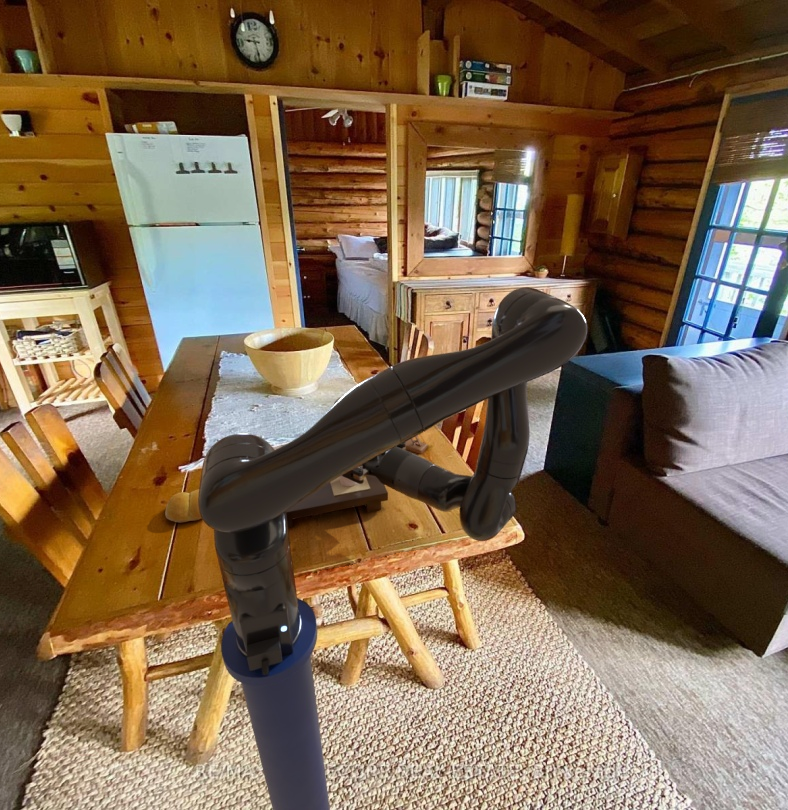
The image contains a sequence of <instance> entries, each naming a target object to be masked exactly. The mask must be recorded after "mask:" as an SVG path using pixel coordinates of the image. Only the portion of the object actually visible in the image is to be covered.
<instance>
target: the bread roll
mask: <svg viewBox="0 0 788 810" xmlns="http://www.w3.org/2000/svg"><path fill="white" fill-rule="evenodd" d="M198 495H199V489H195V490H192V491H191V492H186V491H182V492H177V493H175V494H174V495H172V496H171V497H170V499H169V500H168V502H167V504H166V507H165V513H164V514H165V518H166V519H167V520H168V521H171V522H175V523H186V522H190V521H191V522H192V521H193V522H195V521H199V520H203V519H202V518H201V515H200V512H199V505H198Z"/></svg>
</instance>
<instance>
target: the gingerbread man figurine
mask: <svg viewBox="0 0 788 810" xmlns="http://www.w3.org/2000/svg"><path fill="white" fill-rule="evenodd" d="M414 438H415V439H414ZM414 438H412V439H410V440H408V441H406V442H405V443H406V447H405V450H406V451H408V452H411V453H416V454H418V455H421V454H423V453H424V452H425V450H426V449H428V444H427V443H425V442H422V441H420V438H419V435H417V436H415V437H414Z"/></svg>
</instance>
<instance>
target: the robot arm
mask: <svg viewBox="0 0 788 810" xmlns="http://www.w3.org/2000/svg"><path fill="white" fill-rule="evenodd" d="M587 334H588V324H587V320H586V318H585V316H584V315H583V313H582V312H581V311H580V310H579V309H577V308H576V307H575V306H574V305H572V304H570V303H569V302H567V301H565V300H563V299H561V298H558V297H556V296H554V295H551V294H550V293H549V294H548V293H547V292H544V291H543V290H540V289H538V288H534V287H528V286H524V287H519V288H516V289H513V290H512V291H510V292H509V293H507V294H506V295H505V296H504V297H503V298H502V300H501V301H500V302H499V303H498V305H497V307H496V309H495V312H494V315H493V319H492V325H491V337H490V340H488V341H486V342H484V343H481V344H479V345H477V346H474V347H470V348H466V349H463V350H457V351H452V352H451V351H450V352H444V353H436V354H430V355H429V354H428V355H423V356H419V357H414V358H410V359H406V360H403V361H401V362H398V363H396V364H394V365H391V366H390V367H387V368H386V369H383V370H381V371H379V372H377V373H376V374H374V375H372V376H369V377H367V378H365V379H364V380H362V381H361V382H358V384H356V385H354V386H353V387H352V388H350V389H349V390H348V391H347V392H345V393H344V394H343V395H341V396H340V397H341V398H340V399H339V400H338V401H337V402H336V403H335V402H334V403H335V404H334V403H333V405H332V406H331V407H330V408H329V409H328V410H327V411H326V413H324V415H323V416H321V418H319V419H318V420H317V421H316V422H315V423H314V424H313V425H312V426H311V427H310V428H308V430H306V431H305V432H304V433H302V434H301V435H299V436H298V437H296V438H294V439H293V440H291V441H289V442H288V443H285V444H283V445H281V446H279V447H277V448H274V447H273V446H272V445H271V443H270V442H268V441H267V440H265V439H264V438H262V437H261V436H258V435H256V434H252V433H245V432H244V433H243V432H241V433H233V434H229V435H226V436H224V437H223V438H220V439H219V440H218V441H216V442H215V443H214V444H213V445H212V446H210V448H209V449H208V451H207V453H206V454H205V456H204V459H203V462H202V467H201V468H202V469H201V474H200V481H199V486H198V490H199V495H198V505H199V512H200V515H201V518H202V519H201V520H202V521H203V523H204V524H205V525H206V526H207V527H209V528H210V529H212V530H213V540H214V550H215V554H216V559H217V561H218V566H219V570H220V575H221V579H222V584H223V587H224V592H225V595H226V600H227V604H228V608H229V612H230V617H231V621H233V626H234V629H235V633H236V640H237V645H238V648H239V651H240V652H241V654H242V655H243V656H244V657H246V658H247V661H248V665H249V669H250V671H252V670H256V669H259V668H262V674H263V675H267V674H268V673H269V665H273V664H276V663H280V662H282V657H283V656H287V655H290V654H293V652H294V651H293V646H294V645H295V643H296V642H297V640H298V639H299V636H300V633H301V629H302V624H301V617H300V614H299V607H298V600H297V598H298V594H297V586H296V577H295V570H294V562H293V556H292V555H293V554H292V548H291V540H290V533H289V528H288V522H287V514H286V511H287V510H288V509H290V508H291V507H293V506H294V505H296V504H297V503H299V502H300V501H302V500H303V499H305V498H306V497H308V496H309V495H311V494H312V493H314V492H315V491H317V490H318V489H320V488H321V487H323V486H325V485H326V484H328V483H329V482H331V481H333V480H334V479H336V478H338V477H340V476H343V477H345V478H348V479H350V480H352V481H354V482H356V483H359V484H362V483H363V482H364V478H365V477H366V476H367V475H371V476H375V477H377V478H378V480H379V481H380V482H381V483H382V484H384V485H385V487H386V486H387V487H388V488H390V489H393V490H394V491H396V492H398V493H399V494H402V495H404V496H405V497H408V498H410V499H413V500H417V501H419V502H421V503H423V504H425V505H427V506H429V507H431V508H433V509H435V510H436V511H440V512H443V513H447V512H448V513H449V512H451V511H454V510H456V509H459V512H458V513H459V523H460V527H461V529H462V530H463V531H464V533H465V534H466V535H467V536H468V537H469V538H470V539H472V540H474V541H477V542H487V541H490V540H492V539H493V538H495V537H497V535H498V534H499V533H500V532H501V531H502V530H503V529H504V528H505V526H506V525H507V524H508V523H509V522H510V521H511V519H512V518H513V517H514V515H515V514H516V512H517V507H518V506H517V500H516V498H515V496H514V494H513V493H512V491H513V490H514V489H515V488H516V486H517V484H518V483H519V481H520V479H521V476H522V472H523V469H524V466H525V462H526V458H527V453H528V450H529V445H530V437H531V435H530V418H529V407H528V383H529V382H530V381H534V380H536V379H539V378H541V377H544V376H545V375H547V374H550V373H552V372H553V371H556V370H558V369H560V368H561V367H563V366H564V365H566V364H567V363H569V362H570V361H571V360H572V359H574V357H575V356H576V355H577V354H578V353H579V352H580V350H581V349H582V347H583V345H584V343H585V341H586V338H587ZM486 400H487V402H486V403H487V405H486V414H485V419H484V420H485V422H484V427H483V432H482V435H481V441H480V446H479V450H478V455H477V459H476V464H475V469H474V472H473V474H472V475H466V474H460V473H459V474H458V473H454V472H452V471H451V470H448V469H446V468H444V467H442V466H440V465H437V464H435V463H433V462H432V461H430V460H428V459H426V458H424V457H423V456H420V455H419V454H418V455H417V454H415V453H414V452H412V451H409V450H406V449H405V447H406V443H405V442H406V441H408V440H410V439H412V438H413V439H414V438H416V437H415V436H419V435H422V434H423V433H424V432H427V431H428V430H431V429H432V428H434V427H435V426H437V425H439V424H440V423H442V422H444V421H446V420H448V419H449V418H452V417H453V416H456V415H458V414H460V413H462V412H464V411H466V410H468V409H470V408H472V407H474V406H476V405H478V404H480V403H482V402H484V401H486ZM360 465H363V466H360Z"/></svg>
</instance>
